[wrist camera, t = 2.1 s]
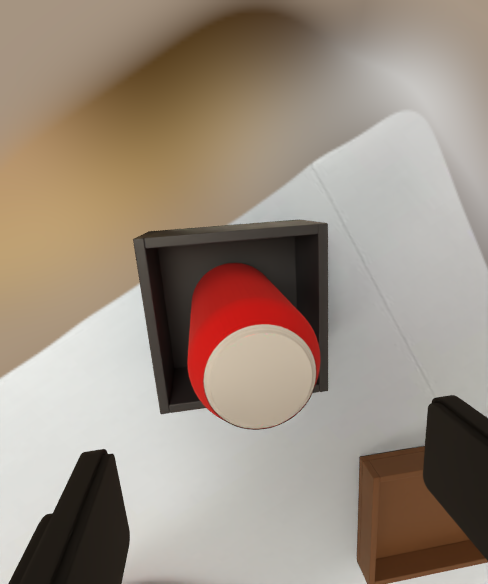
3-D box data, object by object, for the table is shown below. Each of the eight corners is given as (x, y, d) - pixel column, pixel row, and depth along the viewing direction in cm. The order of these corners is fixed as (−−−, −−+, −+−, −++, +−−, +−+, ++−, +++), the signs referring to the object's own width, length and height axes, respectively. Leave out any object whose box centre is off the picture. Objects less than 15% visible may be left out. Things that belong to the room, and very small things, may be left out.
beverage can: (259, 249, 24) (315, 288, 13) (280, 324, 26) (347, 418, 14) (180, 275, 24) (163, 338, 12) (207, 348, 26) (214, 465, 14)
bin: (299, 219, 25) (328, 223, 19) (303, 355, 27) (328, 391, 22) (147, 231, 23) (132, 238, 18) (168, 372, 26) (160, 414, 21)
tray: (503, 432, 33) (528, 451, 30) (486, 534, 36) (508, 558, 34) (359, 456, 31) (373, 478, 28) (356, 560, 34) (368, 587, 32)
